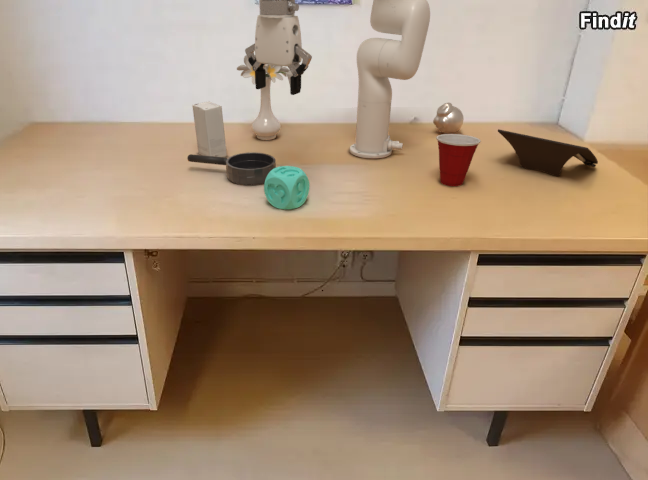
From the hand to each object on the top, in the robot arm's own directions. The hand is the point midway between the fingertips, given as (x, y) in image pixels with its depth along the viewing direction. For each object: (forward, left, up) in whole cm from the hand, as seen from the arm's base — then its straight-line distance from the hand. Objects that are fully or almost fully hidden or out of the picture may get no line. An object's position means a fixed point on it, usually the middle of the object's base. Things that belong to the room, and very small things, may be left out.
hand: (277, 90), depth 127 cm
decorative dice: (-4, +6, -25) cm, 26 cm away
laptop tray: (-67, -36, -25) cm, 80 cm away
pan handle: (+23, -8, -22) cm, 33 cm away
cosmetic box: (+27, -21, -25) cm, 43 cm away
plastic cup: (-42, -18, -25) cm, 52 cm away
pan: (+10, -8, -25) cm, 28 cm away
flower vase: (+16, -42, -25) cm, 52 cm away
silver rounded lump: (-39, -60, -25) cm, 76 cm away
